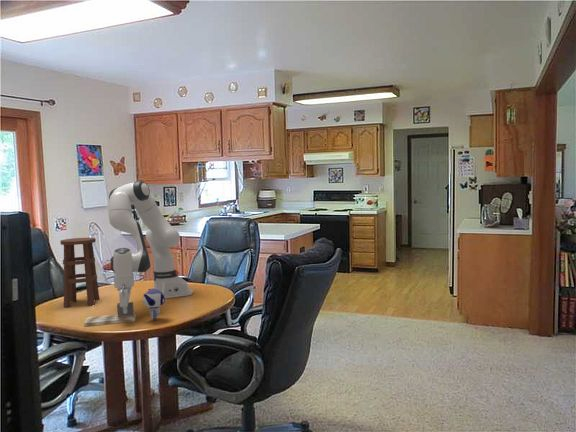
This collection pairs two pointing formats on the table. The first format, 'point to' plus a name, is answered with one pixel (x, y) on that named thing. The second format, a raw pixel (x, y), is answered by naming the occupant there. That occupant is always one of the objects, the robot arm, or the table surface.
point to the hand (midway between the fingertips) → (125, 311)
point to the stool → (71, 276)
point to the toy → (153, 301)
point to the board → (107, 320)
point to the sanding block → (129, 310)
